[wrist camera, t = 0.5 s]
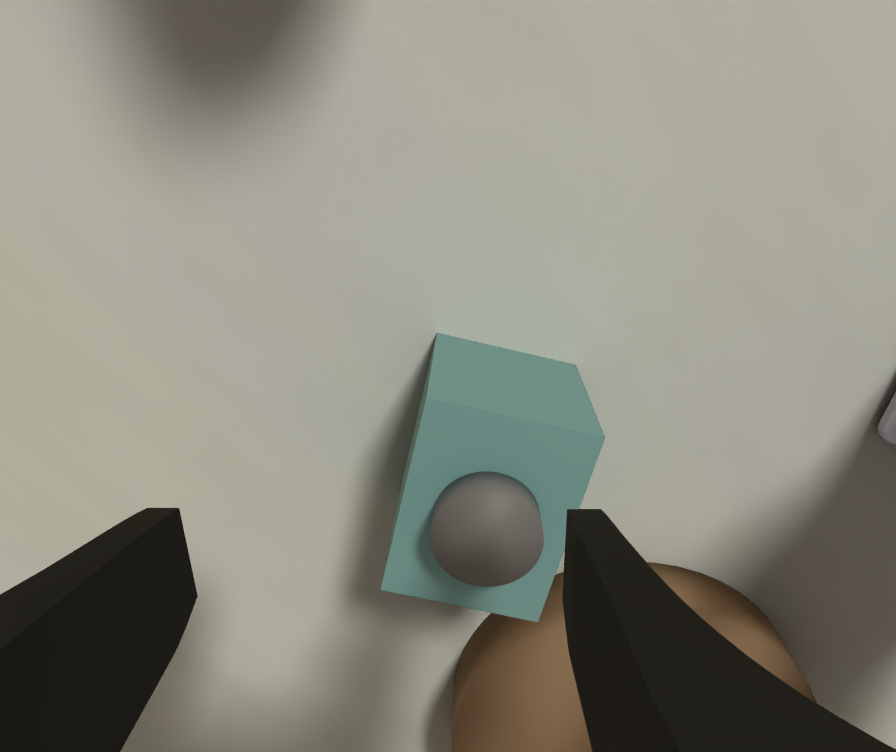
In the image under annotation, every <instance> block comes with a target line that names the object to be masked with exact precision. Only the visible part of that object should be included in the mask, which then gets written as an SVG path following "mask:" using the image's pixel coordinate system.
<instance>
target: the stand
mask: <svg viewBox="0 0 896 752" xmlns="http://www.w3.org/2000/svg"><path fill="white" fill-rule="evenodd" d="M648 565H649V566H650V567H651V568H652V569H653V570H654V571H655V572H656V573H657V574H658V575H659V576H660V577H661V578H662V579H663V581H664V582H665V583H666V584H667V585H668V586H669V587H670V588H671V589H672V590H673V591H674V592H675V593H676V594H677V595H678V596H679V597H680V598H681V599H682V600H683V601H684V602H685V603H686V604H687V605H688V606H689V607H690V608H692V609H693V610H694V611H695V612H696V613H697V614H698V615H699V616H700V617H701V618H702V619H703V620H705V621H706V622H707V623H708V624H709V625H710V626H711V627H713V628H714V629H715V630H716V631H717V632H719V633H720V634H721V635H722V636H724V637H725V638H726V639H727V640H729V641H730V642H731V643H732V644H734V645H735V646H736V647H737V648H739V649H740V650H741V651H742V652H744V653H745V654H746V655H747V656H749V657H750V658H751V659H753V660H754V661H755V662H757V663H758V664H759V665H761V666H762V667H764V668H765V669H766V670H768V671H769V672H771V673H772V674H773V675H775V676H776V677H778V678H779V679H781V680H782V681H784V682H785V683H787V684H788V685H790V686H791V687H792V688H794V689H795V690H797V691H798V692H800V693H801V694H803V695H804V696H806V697H807V698H809V699H810V700H812V701H814V702H815V703H816V700H815V698H814V696H813V694H812V691H811V689H810V687H809V685H808V684H807V682H806V680H805V679H804V677H803V675H802V673H801V672H800V670H799V668H798V667H797V665H796V663H795V661H794V660H793V658H792V656H791V655H790V653H789V651H788V649H787V648H786V646H785V644H784V642H783V641H782V639H781V637H780V636H779V634H778V632H777V631H776V629H775V628H774V626H773V625H772V623H771V622H770V621H769V619H768V618H767V617H766V616H765V614H764V613H763V612H762V611H761V610H760V609H759V608H758V607H757V606H756V605H755V604H754V603H753V602H751V601H750V600H749V599H747V598H746V597H745V596H744V595H742V594H741V593H740V592H738V591H737V590H735V589H733V588H731V587H730V586H728V585H726V584H724V583H723V582H721V581H719V580H716V579H714V578H711V577H709V576H706V575H704V574H702V573H699V572H695V571H692V570H688V569H684V568H681V567H677V566H671V565H664V564H658V563H648ZM563 578H564V572H563V573H560V574H557V575H555V576H554V579H553V582H552V585H551V587H550V590H549V593H548V596H547V598H546V601H545V604H544V607H543V609H542V612H541V615H540V618H539V620H538V622H533V621H529V620H524V619H519V618H514V617H509V616H505V615H500V614H495V613H492V614H490V615H489V616H488V617H487V618H486V619H485V620H484V622H483V623H482V624H481V625H480V626H479V628H478V629H477V630H476V631H475V632H474V634H473V636H472V637H471V639H470V640H469V642H468V644H467V645H466V647H465V649H464V651H463V654H462V656H461V659H460V661H459V663H458V667H457V671H456V676H455V680H454V701H453V731H452V752H592V748H591V744H590V740H589V736H588V731H587V727H586V723H585V719H584V715H583V711H582V706H581V702H580V698H579V694H578V690H577V686H576V681H575V677H574V673H573V669H572V664H571V660H570V656H569V651H568V643H567V635H566V627H565V618H564V609H563V601H562V597H563Z"/></svg>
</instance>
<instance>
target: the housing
mask: <svg viewBox="0 0 896 752" xmlns="http://www.w3.org/2000/svg"><path fill="white" fill-rule="evenodd" d="M604 439H605V436H604V433H603V431H602V428H601V426H600V423H599V421H598V418H597V416H596V413H595V411H594V408H593V406H592V403H591V401H590V399H589V396H588V394H587V391H586V389H585V386H584V384H583V381H582V379H581V376H580V374H579V371H578V369H577V366H576V365H575V364H570V363H566V362H562V361H557V360H553V359H549V358H544V357H540V356H536V355H531V354H527V353H523V352H518V351H514V350H510V349H505V348H501V347H497V346H492V345H488V344H484V343H479V342H475V341H471V340H466V339H462V338H458V337H453V336H449V335H444V334H440V333H437V334H436V338H435V343H434V347H433V351H432V355H431V360H430V364H429V368H428V372H427V377H426V381H425V385H424V389H423V393H422V398H421V402H420V406H419V410H418V415H417V419H416V423H415V427H414V432H413V436H412V440H411V444H410V449H409V453H408V457H407V461H406V465H405V470H404V474H403V478H402V482H401V487H400V491H399V496H398V501H397V506H396V511H395V516H394V522H393V527H392V532H391V537H390V543H389V548H388V553H387V558H386V563H385V569H384V574H383V579H382V584H381V590H384V591H389V592H394V593H399V594H403V595H408V596H413V597H418V598H423V599H428V600H432V601H437V602H442V603H447V604H452V605H456V606H461V607H466V608H471V609H476V610H480V611H485V612H490V613H495V614H500V615H505V616H509V617H514V618H519V619H524V620H529V621H533V622H538V620H539V618H540V615H541V612H542V609H543V607H544V604H545V601H546V598H547V596H548V593H549V590H550V587H551V585H552V582H553V579H554V576H555V574H556V571H557V568H558V565H559V563H560V560H561V557H562V554H563V552H564V549H565V538H566V519H567V509H579V508H580V505H581V502H582V499H583V497H584V494H585V491H586V488H587V486H588V483H589V480H590V478H591V475H592V472H593V469H594V467H595V464H596V461H597V458H598V456H599V453H600V450H601V447H602V445H603V442H604Z"/></svg>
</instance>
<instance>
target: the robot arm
mask: <svg viewBox="0 0 896 752" xmlns="http://www.w3.org/2000/svg"><path fill="white" fill-rule="evenodd" d="M878 433H879V434H880V436H881V437H882V438H883V439H885V440H886V441H887V442H889V443H892V444H895V445H896V392H895V394H894V396H893V398H892V400H891V402H890V403H889V405H888V407H887V409H886V411H885V413H884V415H883V417H882V418H881V420H880V422H879V425H878ZM196 599H197V592H196V587H195V582H194V577H193V573H192V568H191V563H190V558H189V553H188V549H187V544H186V539H185V534H184V530H183V525H182V520H181V515H180V510H179V508H146V509H144V510H142V511H140V512H138V513H136V514H135V515H133V516H131V517H129V518H128V519H126V520H124V521H122V522H121V523H119V524H117V525H116V526H114V527H112V528H111V529H109V530H107V531H106V532H104V533H103V534H101V535H99V536H98V537H96V538H94V539H93V540H91V541H90V542H88V543H86V544H85V545H83V546H82V547H80V548H78V549H77V550H75V551H73V552H72V553H70V554H68V555H67V556H65V557H64V558H62V559H60V560H59V561H57V562H55V563H54V564H52V565H51V566H49V567H47V568H46V569H44V570H42V571H41V572H39V573H37V574H35V575H34V576H32V577H30V578H28V579H27V580H25V581H23V582H21V583H20V584H18V585H16V586H14V587H13V588H11V589H9V590H7V591H6V592H4V593H2V594H1V595H0V752H120V751H121V749H122V747H123V745H124V743H125V742H126V740H127V738H128V736H129V734H130V733H131V731H132V729H133V727H134V726H135V724H136V722H137V720H138V718H139V717H140V715H141V713H142V711H143V709H144V708H145V706H146V704H147V702H148V700H149V699H150V697H151V695H152V693H153V692H154V690H155V688H156V686H157V684H158V682H159V681H160V679H161V677H162V675H163V673H164V671H165V670H166V668H167V666H168V664H169V662H170V661H171V659H172V657H173V655H174V653H175V651H176V649H177V647H178V645H179V643H180V640H181V638H182V635H183V633H184V631H185V628H186V626H187V623H188V620H189V618H190V615H191V612H192V610H193V607H194V604H195V601H196ZM562 601H563V609H564V618H565V627H566V635H567V643H568V651H569V656H570V660H571V664H572V669H573V673H574V677H575V681H576V686H577V690H578V694H579V698H580V702H581V706H582V711H583V715H584V719H585V723H586V727H587V731H588V736H589V740H590V744H591V748H592V752H896V749H894V748H892V747H890V746H888V745H886V744H884V743H883V742H881V741H879V740H877V739H875V738H874V737H872V736H870V735H869V734H867V733H865V732H863V731H862V730H860V729H858V728H857V727H855V726H853V725H851V724H850V723H848V722H846V721H845V720H843V719H841V718H839V717H838V716H836V715H834V714H833V713H831V712H830V711H828V710H826V709H825V708H823V707H822V706H820V705H818V704H817V703H815V702H814V701H812V700H810V699H809V698H807V697H806V696H804V695H803V694H801V693H800V692H798V691H797V690H795V689H794V688H792V687H791V686H790V685H788V684H787V683H785V682H784V681H782V680H781V679H779V678H778V677H776V676H775V675H773V674H772V673H771V672H769V671H768V670H766V669H765V668H764V667H762V666H761V665H759V664H758V663H757V662H755V661H754V660H753V659H751V658H750V657H749V656H747V655H746V654H745V653H744V652H742V651H741V650H740V649H739V648H737V647H736V646H735V645H734V644H732V643H731V642H730V641H729V640H727V639H726V638H725V637H724V636H722V635H721V634H720V633H719V632H717V631H716V630H715V629H714V628H713V627H711V626H710V625H709V624H708V623H707V622H706V621H705V620H703V619H702V618H701V617H700V616H699V615H698V614H697V613H696V612H695V611H694V610H693V609H692V608H690V607H689V606H688V605H687V604H686V603H685V602H684V601H683V600H682V599H681V598H680V597H679V596H678V595H677V594H676V593H675V592H674V591H673V590H672V589H671V588H670V587H669V586H668V585H667V584H666V583H665V582H664V581H663V579H662V578H661V577H660V576H659V575H658V574H657V573H656V572H655V571H654V570H653V569H652V568H651V567H650V566H649V565H648V563H647V562H646V561H645V560H644V559H643V558H642V557H641V556H640V554H639V553H638V552H637V551H636V550H635V549H634V548H633V546H632V545H631V544H630V543H629V542H628V540H627V539H626V538H625V537H624V536H623V535H622V533H621V532H620V531H619V530H618V528H617V527H616V526H615V525H614V524H613V522H612V521H611V520H610V519H609V517H608V516H607V515H606V514H605V513H604V512H603V511H602V510H601V509H567V519H566V538H565V558H564V578H563V597H562Z"/></svg>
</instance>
